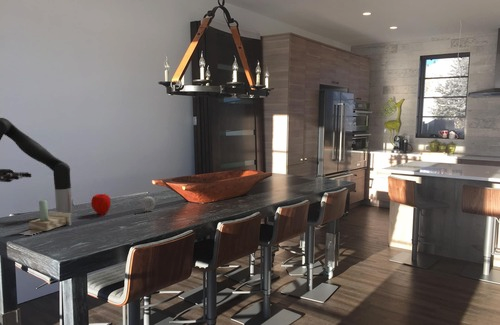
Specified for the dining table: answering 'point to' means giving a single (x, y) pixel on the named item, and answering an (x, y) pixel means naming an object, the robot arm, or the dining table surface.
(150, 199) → the donut
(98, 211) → the apple
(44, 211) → the dowel
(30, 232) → the rail base
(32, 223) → the socket block
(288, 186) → the dining table surface
